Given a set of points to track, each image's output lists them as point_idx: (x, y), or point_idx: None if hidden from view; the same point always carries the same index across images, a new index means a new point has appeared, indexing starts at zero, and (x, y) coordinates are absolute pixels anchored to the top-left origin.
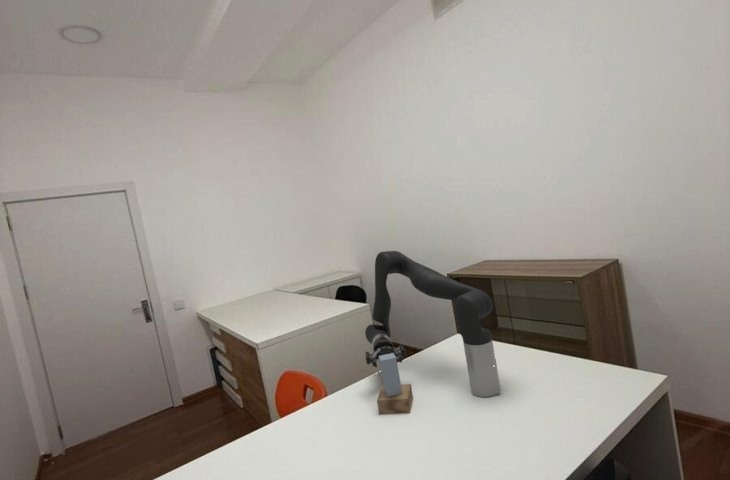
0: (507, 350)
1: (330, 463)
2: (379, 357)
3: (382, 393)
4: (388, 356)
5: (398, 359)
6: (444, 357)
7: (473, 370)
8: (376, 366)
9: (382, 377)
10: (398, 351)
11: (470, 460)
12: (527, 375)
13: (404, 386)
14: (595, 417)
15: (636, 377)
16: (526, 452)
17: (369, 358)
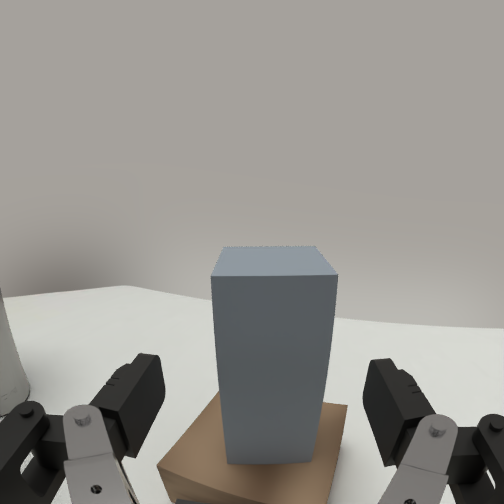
0: None
1: (414, 335)
2: (328, 263)
3: (323, 444)
4: (262, 258)
5: (145, 427)
6: None
7: (6, 321)
8: (367, 393)
9: (320, 405)
10: (88, 411)
11: (191, 308)
12: None
13: (197, 460)
14: (21, 303)
15: None
16: (125, 300)
17: (468, 436)
